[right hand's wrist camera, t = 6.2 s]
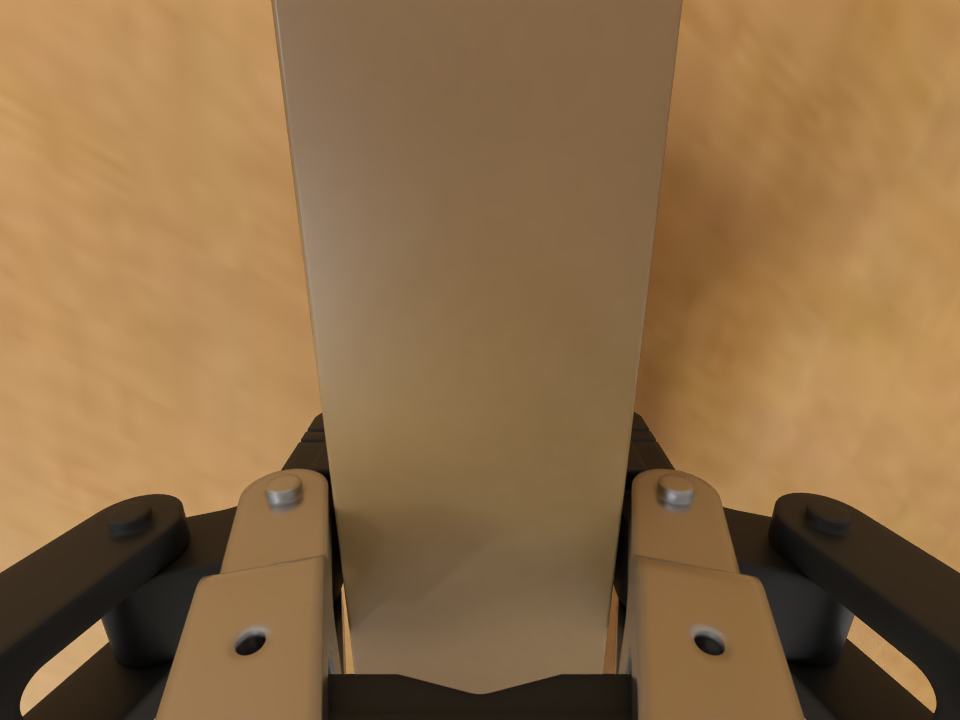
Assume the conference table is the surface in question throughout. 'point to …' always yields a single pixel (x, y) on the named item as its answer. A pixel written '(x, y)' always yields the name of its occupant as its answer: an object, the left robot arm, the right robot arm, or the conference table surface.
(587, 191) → the beam
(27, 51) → the conference table surface
